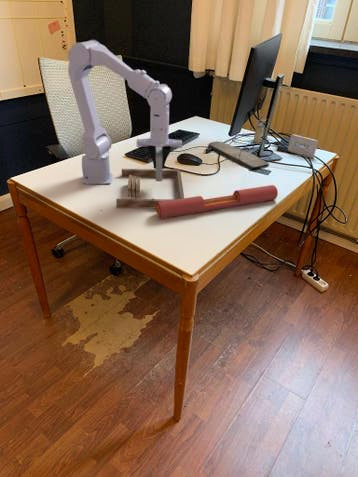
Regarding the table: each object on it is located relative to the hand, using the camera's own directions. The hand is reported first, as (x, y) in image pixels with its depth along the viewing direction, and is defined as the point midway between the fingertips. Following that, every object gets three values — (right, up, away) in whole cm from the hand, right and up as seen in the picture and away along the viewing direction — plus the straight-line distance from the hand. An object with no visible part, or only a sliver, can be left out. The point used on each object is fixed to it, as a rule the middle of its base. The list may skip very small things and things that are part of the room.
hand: (158, 167), depth 119 cm
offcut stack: (-9, -7, +4) cm, 12 cm away
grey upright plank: (0, -2, +1) cm, 3 cm away
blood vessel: (+20, -14, -2) cm, 24 cm away
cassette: (+61, +14, +40) cm, 74 cm away
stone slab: (+32, +11, +35) cm, 48 cm away
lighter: (+45, +23, +52) cm, 73 cm away
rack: (-3, -7, +5) cm, 9 cm away
